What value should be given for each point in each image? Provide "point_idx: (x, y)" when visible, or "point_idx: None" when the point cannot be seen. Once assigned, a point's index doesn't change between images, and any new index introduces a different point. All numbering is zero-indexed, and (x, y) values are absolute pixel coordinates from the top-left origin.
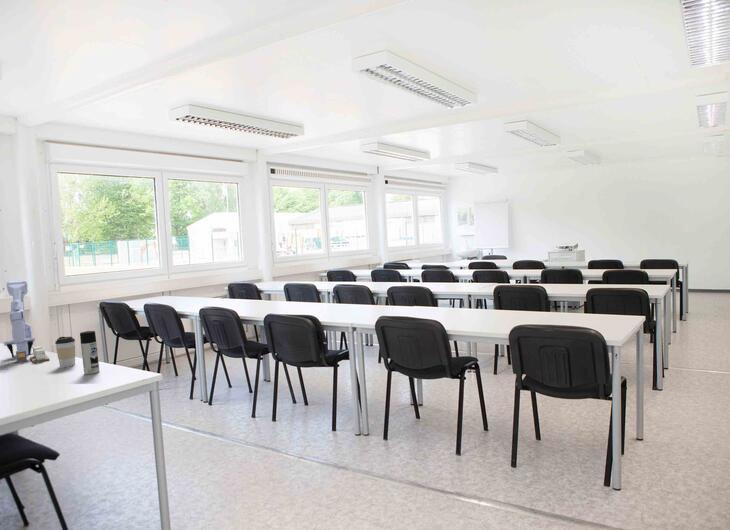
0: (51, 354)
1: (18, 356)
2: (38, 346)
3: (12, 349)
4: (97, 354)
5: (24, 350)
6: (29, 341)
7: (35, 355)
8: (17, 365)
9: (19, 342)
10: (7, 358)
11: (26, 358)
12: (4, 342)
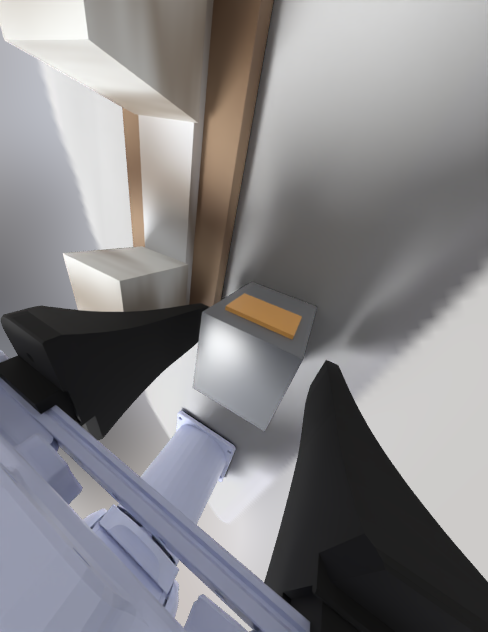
0: None
1: (297, 321)
2: None
3: (346, 445)
4: None
5: (201, 368)
6: (25, 391)
7: (177, 262)
8: (483, 26)
9: (142, 519)
10: (274, 473)
11: (244, 286)
12: None
